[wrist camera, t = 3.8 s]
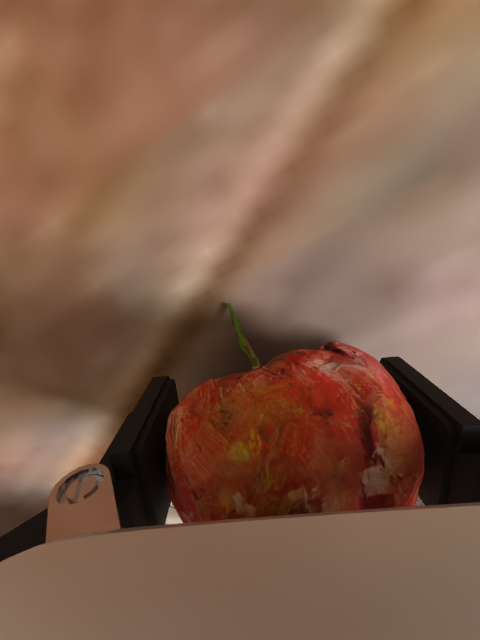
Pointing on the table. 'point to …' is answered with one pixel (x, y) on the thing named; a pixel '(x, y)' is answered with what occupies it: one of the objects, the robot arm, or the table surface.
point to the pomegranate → (294, 438)
